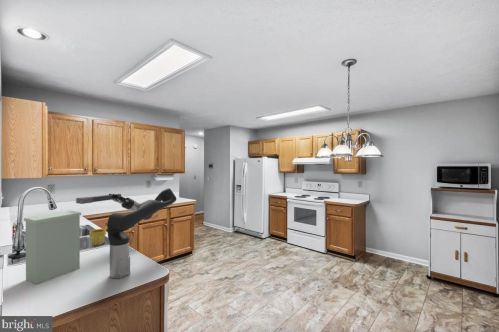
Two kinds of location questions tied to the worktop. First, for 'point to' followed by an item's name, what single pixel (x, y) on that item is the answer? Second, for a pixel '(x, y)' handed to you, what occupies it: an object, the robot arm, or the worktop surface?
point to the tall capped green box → (52, 245)
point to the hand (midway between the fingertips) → (110, 195)
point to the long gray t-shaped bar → (95, 199)
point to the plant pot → (98, 236)
